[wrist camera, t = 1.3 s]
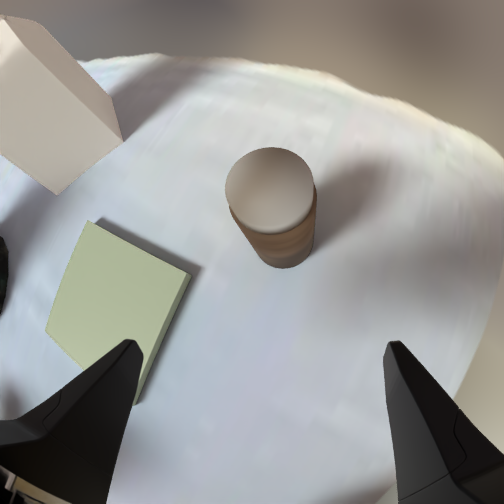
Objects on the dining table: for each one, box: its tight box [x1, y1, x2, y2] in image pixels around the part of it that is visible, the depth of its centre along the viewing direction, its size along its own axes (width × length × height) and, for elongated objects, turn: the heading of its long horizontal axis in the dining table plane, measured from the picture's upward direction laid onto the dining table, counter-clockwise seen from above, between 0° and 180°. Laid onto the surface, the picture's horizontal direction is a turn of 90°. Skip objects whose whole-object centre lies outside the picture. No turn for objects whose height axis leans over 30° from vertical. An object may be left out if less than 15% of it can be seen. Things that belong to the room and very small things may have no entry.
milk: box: [0, 14, 124, 196], centre depth 20 cm, size 12×12×26 cm
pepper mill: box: [225, 147, 317, 269], centre depth 19 cm, size 5×5×10 cm
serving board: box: [45, 220, 192, 406], centre depth 25 cm, size 14×14×1 cm
